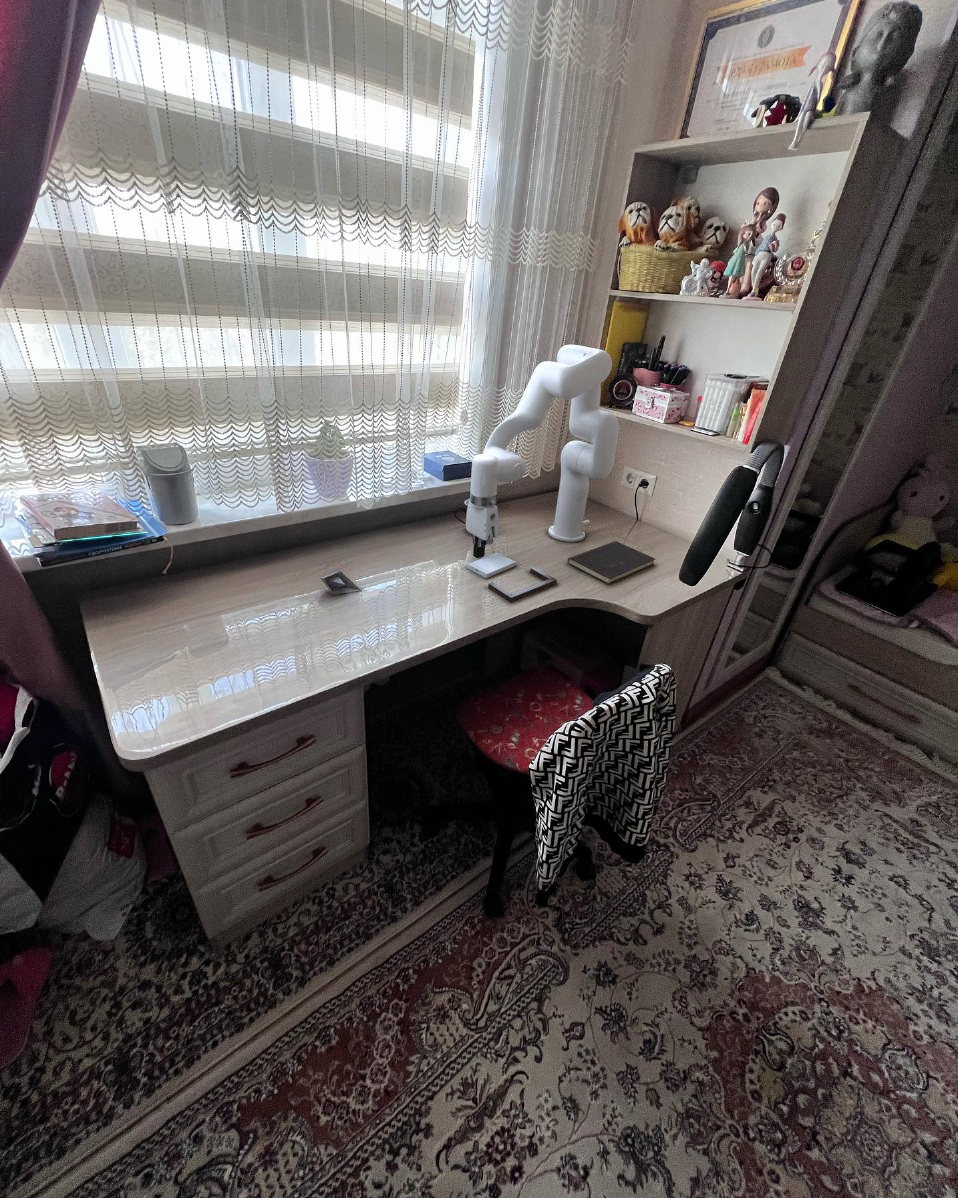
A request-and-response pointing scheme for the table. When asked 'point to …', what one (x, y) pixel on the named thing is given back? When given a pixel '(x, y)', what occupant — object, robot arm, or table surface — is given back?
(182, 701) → the table surface
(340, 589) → the paper boat
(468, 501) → the coffee mug
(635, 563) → the hardcover book
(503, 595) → the dark brown open frame
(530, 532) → the table surface
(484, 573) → the hard drive
